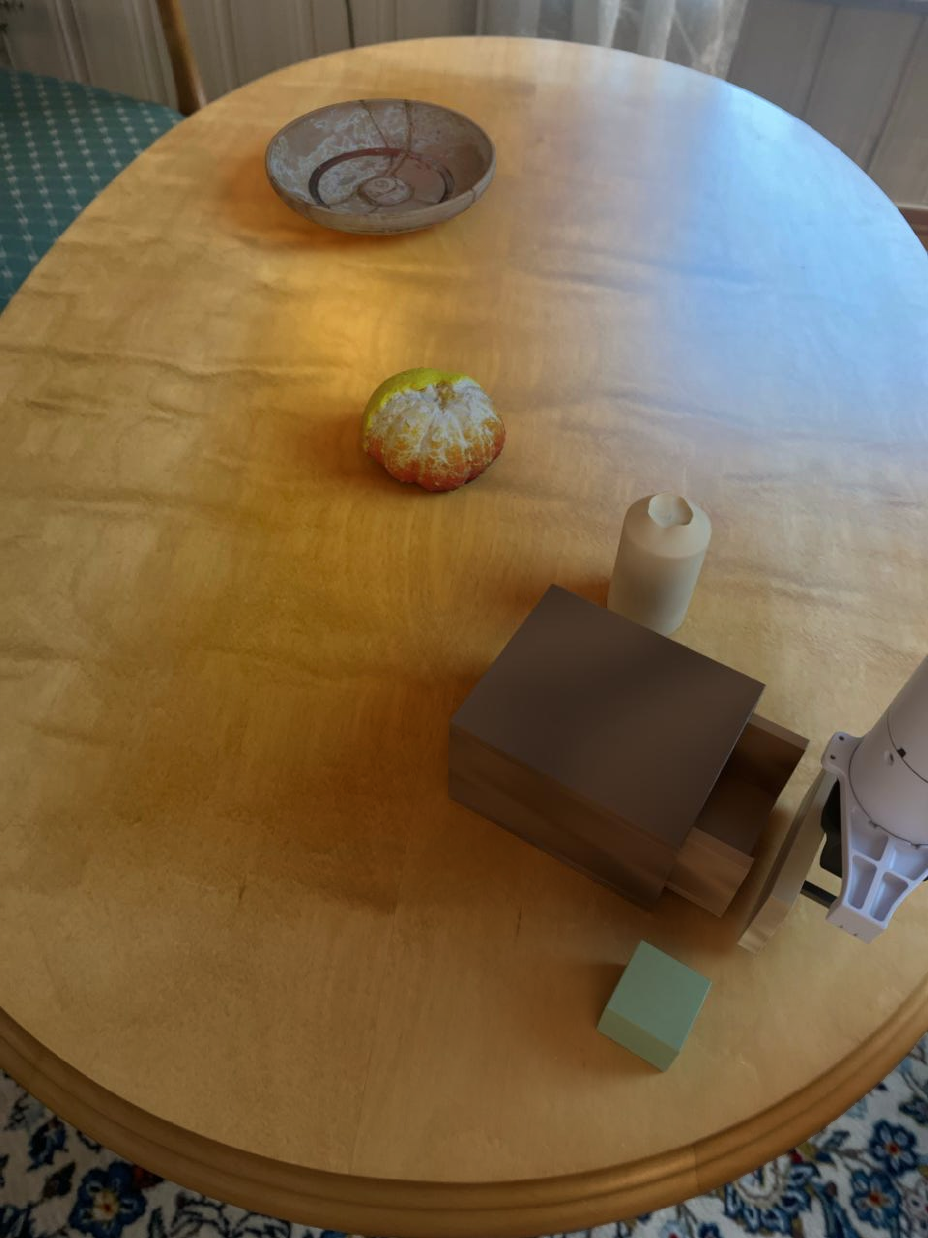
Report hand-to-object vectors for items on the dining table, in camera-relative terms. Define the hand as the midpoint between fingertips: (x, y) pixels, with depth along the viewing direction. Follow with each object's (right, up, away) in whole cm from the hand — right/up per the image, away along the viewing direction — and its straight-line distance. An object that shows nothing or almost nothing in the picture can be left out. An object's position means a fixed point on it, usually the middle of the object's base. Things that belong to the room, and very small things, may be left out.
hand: (841, 865), depth 52 cm
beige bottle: (-7, +14, +17) cm, 23 cm away
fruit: (-23, +26, +26) cm, 43 cm away
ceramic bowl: (-29, +57, +50) cm, 81 cm away
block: (-10, -8, -1) cm, 13 cm away
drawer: (-5, 0, +5) cm, 7 cm away
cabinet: (-12, +3, +8) cm, 15 cm away
